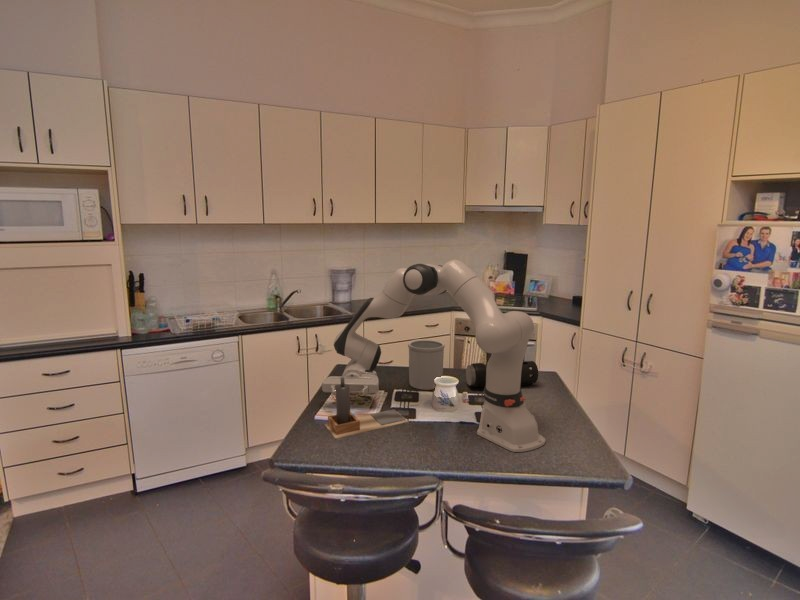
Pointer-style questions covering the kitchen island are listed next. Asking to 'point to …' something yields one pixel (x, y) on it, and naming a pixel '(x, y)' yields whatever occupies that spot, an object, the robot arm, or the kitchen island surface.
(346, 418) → the plug
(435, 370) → the utensil holder
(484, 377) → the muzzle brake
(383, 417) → the cable board
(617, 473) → the kitchen island surface
